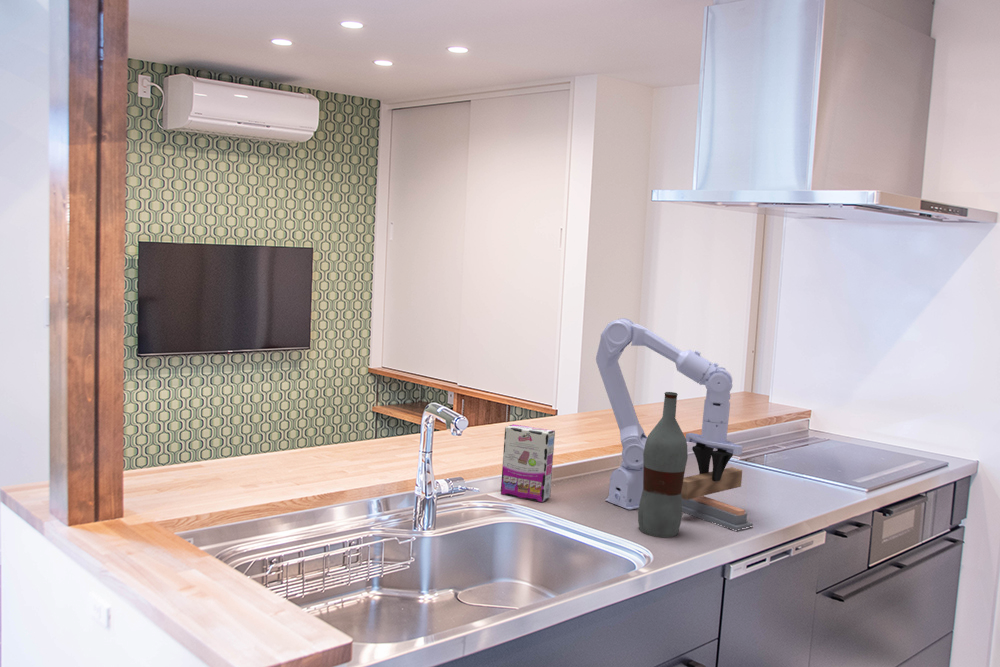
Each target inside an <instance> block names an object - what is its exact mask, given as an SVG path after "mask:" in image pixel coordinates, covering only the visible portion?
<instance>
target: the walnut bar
mask: <svg viewBox="0 0 1000 667" xmlns="http://www.w3.org/2000/svg"><path fill="white" fill-rule="evenodd" d="M712 472H713V470H712V471H709V472H708V473H703V474H700V473H699V474H693V475H689V476H684V479H683V485H682V491H681V496H682V499H685V500H688V499H692V498H696V497H700V496H708V495H711V494H716V493H720V492H724V491H729V490H733V489H736V488H741V487H742V482H743V480H742V478H743V469H739V468H737V467H734V466H733V467H732V466H731V467H725V469H724V471H723V474H722V477H721V480H720V481H712Z"/></svg>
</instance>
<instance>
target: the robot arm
mask: <svg viewBox="0 0 1000 667" xmlns="http://www.w3.org/2000/svg"><path fill="white" fill-rule="evenodd" d="M630 344H631V347H632V346H633V347H635V346H636V347H638V346H639V347H646V348H649V350H651V351H653V352H655V353H657V354H658V355H661V356H662V357H664V358H666V359H668V360H670V361H671V362H673V363H675V368H676V371H677V372H679V373H681V374H682V375H684V376H685V377H687V378H688V379H690V380H692V381H693V382H694V383H697V384H698V385H700V386H702V385H703V386H705V388H706V394H705V399H704V404H703V411H702V412H703V413H702V414H703V415H702V424H701V432H700V433H701V434H699V433H693V432H688V433H686V434H685V438H686V441H687V443H693V444H695V445H694V446H692V448H691V450H692V453H693V454H694V456H695V459H696V462H697V465H698V471H699V472H698V473H699V474H703V473H708V472H710V464H711V462H712V471H713V472H712V471H711V472H712V481H720V480H721V477H722V474H723V471H724V469H726V468H727V467H726V466H727V465H728V463H729V462H730V459H732V457H733V456H741V455H743V448H744V446H743V445H740V444H737V443H734V442H732V441H729V440H728V427H729V420H730V408H731V402H730V400H731V391H732V389H733V377H732V375H731V373H730V372H729V371H728V370H727V369H726V367H722V366H721V367H720V366H719V365H720V364H718V363H717V362H714V363H713V362H712V361H709V360H708V359H706V358H705V357H703V356H702V355H701V352H700V351H699V350H697V349H696V350H695V351H694V350H692V349H687V350H681V349H680V348H678V347H676V346H675V345H673V344H672V343H671V342H669V341H667V340H665V339H664V338H662V337H661V336H659V335H658V334H656V333H655V332H654V331H652V330H651V329H649V328H647V327H645V326H643V325H641V324H639V323H636V322H635V323H634V322H633V321H632V320H631V319H629V318H625V317H621V318H618V319H615V320H612V321H610V322H608V324H607V325H606V326H605V327H604V329H603V330H602V331H601V333H600V340H599V344H598V348H597V353H596V357H595V362H596V365H597V368H598V372H599V374H600V376H601V377H600V378H601V379H602V382H603V385H604V388H605V392H606V394H607V397H608V399H609V403H610V406H611V409H612V412H613V415H614V418H615V420H616V424H617V426H618V429H619V436H620V442H621V446H622V451H621V457H622V458H621V459H622V461H621V462H620V463H621V464H620V466H619V467H618V468H616V469H614V470H613V471H611V474H610V475H609V478H610V479H609V489H608V497H607V498H605V501H606V502H609V503H611V504H613V505H616V506H619V507H621V508H624V509H626V510H630V511H631V510H636V509H639V504H640V499H641V495H642V491H643V469H644V463H643V452H644V448H645V443H646V440H647V437H648V436H647V435H646V434H645V431H644V428H643V426H642V425H641V424H640V421H639V419H638V416H637V412H636V410H635V407H634V403H633V401H632V398H631V395H630V393H629V390H628V387H627V384H626V381H625V378H624V374H623V372H622V370H621V366H620V364H619V359H620V358H621V356H622V354H623V352H624V350H625V349H626V348H627V347H628V346H629V345H630ZM714 449H716V450H714ZM711 460H712V461H711Z"/></svg>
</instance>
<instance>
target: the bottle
mask: <svg viewBox="0 0 1000 667" xmlns="http://www.w3.org/2000/svg"><path fill="white" fill-rule="evenodd" d="M677 401H678V393H677V392H674V391H673V392H672V391H665V392H664V398H663V411H662V417H661V418H660V419H659V421H658V422H657V424H655V426H654V427H653V429H652V430H651V431H650V433H648V436H647V440H646V443H645V448H644V452H643V463H644V469H643V491H642V495H641V499H640V504H639V508H637V516H638V517H637V520H638V522H637V523H638V527H639V530H640V532H641V533H643V534H646V535H648V536H652V537H656V538H657V537H659V538H672V537H675V536H677V535H678V532H679V530H680V527H681V522H682V518H683V512H682V496H681V491H682V485H683V479H684V477H685V471H686V466H687V463H688V459H689V458H688V457H689V456H688V442H687V441H686V435H685V434H684V433H683V431H682V429H681V427H680V425H679V423H678V421H677V419H676V416H677V415H676V414H677V412H676V411H677Z"/></svg>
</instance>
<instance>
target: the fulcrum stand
mask: <svg viewBox="0 0 1000 667" xmlns="http://www.w3.org/2000/svg"><path fill="white" fill-rule="evenodd" d="M684 512H685V514H687V513H688V514H687V515H690V516H692V515H693V517H695V518H697V519H700V518H701V519H700V520H703V519H704V521H706V520H707V521H706V522H708V521H710V522H709V523H711V522H713V523H712V524H714V523H716V524H715V525H717V524H719V525H722V526H725V527H728V528H731V529H734V530H738V529H742V528H746V527H750V526H754V523H753V522H750V521H747V520H748V513H746V509H743V508H740V507H737V506H734V505H731V504H728V503H725V502H722V501H720V500H716V499H713V498H710V497H707V496H706V495H704V496H700V497H696V498H692V499H688V500H685V499H682V513H684ZM719 525H718V526H719ZM722 526H721V527H722ZM725 527H724V528H725Z"/></svg>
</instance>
